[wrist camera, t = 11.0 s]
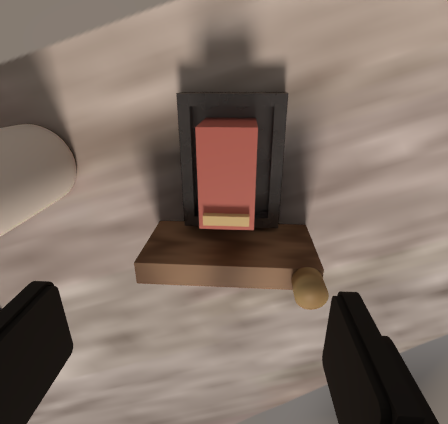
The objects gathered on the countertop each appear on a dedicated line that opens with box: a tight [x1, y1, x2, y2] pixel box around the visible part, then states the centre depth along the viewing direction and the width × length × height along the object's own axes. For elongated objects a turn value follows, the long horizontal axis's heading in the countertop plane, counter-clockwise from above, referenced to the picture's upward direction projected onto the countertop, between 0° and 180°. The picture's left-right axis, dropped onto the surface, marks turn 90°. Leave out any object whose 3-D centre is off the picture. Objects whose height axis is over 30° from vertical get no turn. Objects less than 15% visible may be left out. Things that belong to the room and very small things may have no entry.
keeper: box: [177, 92, 288, 228], centre depth 28 cm, size 9×12×2 cm
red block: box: [195, 118, 258, 230], centre depth 25 cm, size 4×8×7 cm, turn 0°
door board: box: [134, 221, 329, 310], centre depth 27 cm, size 15×2×10 cm, turn 90°
